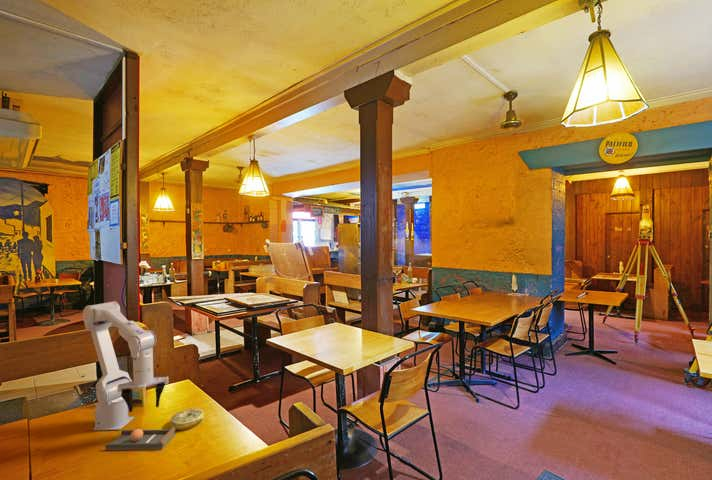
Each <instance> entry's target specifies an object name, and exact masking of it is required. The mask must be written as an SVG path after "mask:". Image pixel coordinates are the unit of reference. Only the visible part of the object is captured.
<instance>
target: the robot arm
mask: <svg viewBox="0 0 712 480" xmlns="http://www.w3.org/2000/svg"><path fill="white" fill-rule="evenodd" d="M82 320H83V324H84V327H85V330H86V331H89V332H90V333H91V337H92V341H93V344H94V348H95V352H96V355H97V358H98V361H99V362H98V363H99V365H100V371H101V374H102V376H101V377H100V379H98V381H97V383H96V384H95V391H96V392H95V393H96V395H95V396H96V399H97V401H98V402H97V403H96V405H95V408H94V426H95V427H93V431H119V430H122V429H123V428H124V427H126V426H127V425H128V424H129V423H130V422H131V421H132V420H133V419H134V418H135V416H129V413H132V412H133V410H134V406H133V400H132V392H133V389H136V388H145V387H146V388H147V387H152V386H153V387H154V386H156V387H155V388H154V390H155V408H159V407H160V401H161V400H160V398H161V395H162V394H163V391H164V389H165V387H166V386H165V385H169V376H160V377H159V376H158V377H157V376H156V377H155V376H154V349H153V348H154V347H156V345H157V336H156V334H155V333H154V331H153V330H148V329H147V330H145V329H144V328H142V327H141V326H140V325H139V324H138V323H137V322H136V321H134V320H128V319H127V318H126V316H125V315H123V313H122V311H121V307H120V304H119V303H118V302H117V301H115V300H112V301H108V302H104V303H98V304H91V305H90V304H89V305H86V306H85V307H84V308H83V311H82ZM111 326H114V327H116V328H118V331H117V332H118V334H119V335H120V336H121V337H122V339H124V340H125V341H126V342H127V344H128V348H129V351H130V356H131V358H132V366H133V367H132V370H133V380H132V378H131V377H130V375H129V372H127V371H124V370H121V369H120V367H119V364H118V363H119V362H118V359H117V355H116V353H115V349H114V346H113V345H114V344H113V342H112V338H111V334H110V331H109V328H110V327H111Z"/></svg>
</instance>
